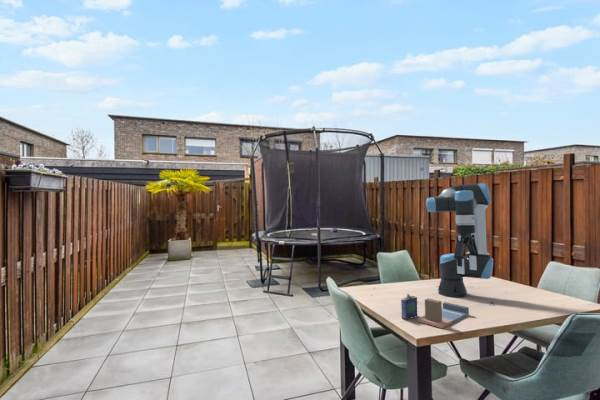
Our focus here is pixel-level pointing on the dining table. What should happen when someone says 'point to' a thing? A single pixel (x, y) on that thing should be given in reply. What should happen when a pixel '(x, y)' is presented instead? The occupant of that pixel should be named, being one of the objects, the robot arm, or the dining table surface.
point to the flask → (409, 307)
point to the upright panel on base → (434, 314)
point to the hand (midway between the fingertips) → (467, 271)
